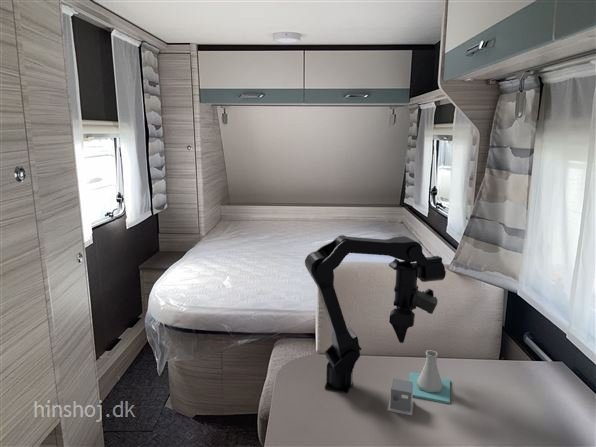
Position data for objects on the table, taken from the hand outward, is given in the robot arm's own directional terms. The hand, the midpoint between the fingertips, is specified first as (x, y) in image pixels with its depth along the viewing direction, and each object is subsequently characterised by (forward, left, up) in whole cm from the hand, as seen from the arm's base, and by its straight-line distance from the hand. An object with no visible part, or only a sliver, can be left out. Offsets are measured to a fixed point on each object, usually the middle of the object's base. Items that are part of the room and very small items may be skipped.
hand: (403, 335), depth 125 cm
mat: (+8, -3, -13) cm, 16 cm away
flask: (+8, -3, -13) cm, 15 cm away
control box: (+1, -14, -13) cm, 19 cm away
